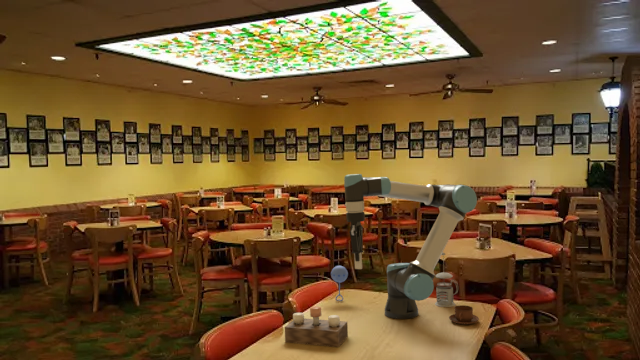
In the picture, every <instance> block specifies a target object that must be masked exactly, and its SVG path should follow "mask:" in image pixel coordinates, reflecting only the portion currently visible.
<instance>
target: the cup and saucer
mask: <svg viewBox="0 0 640 360" xmlns="http://www.w3.org/2000/svg"><path fill="white" fill-rule="evenodd" d="M473 309H474V308H473V307H472V306H470V305H465V304H463V305H460V304H459V305H455V306H454V314H451V315H449V320H450V321H451V322H453V323H454V324H459V325H472V324H476V323H478V322H479V316H477V315H475V314H474V312H473V311H474V310H473Z"/></svg>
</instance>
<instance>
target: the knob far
mask: <svg viewBox="0 0 640 360" xmlns="http://www.w3.org/2000/svg"><path fill="white" fill-rule="evenodd" d="M304 318H305V313H303V312H294V313H293V314H292V321H293V322H294V323H296V324H302V323H303V322H304Z"/></svg>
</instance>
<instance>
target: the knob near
mask: <svg viewBox="0 0 640 360" xmlns="http://www.w3.org/2000/svg"><path fill="white" fill-rule="evenodd" d="M327 320H328V324H329V326H331V327H337V326H338V325H340V321H341V320H340V315H337V314H331V315H329V316H328V319H327Z"/></svg>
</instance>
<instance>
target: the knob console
mask: <svg viewBox="0 0 640 360" xmlns="http://www.w3.org/2000/svg"><path fill="white" fill-rule="evenodd" d="M348 329H349V328H348V321H342V320H340V325H338V326H337V327H331V326H329V324H328V319H319V326H313V318H305V317H304V322H303V323H302V324H296V323H294V322H293V320H292V321H290V322H289V323H288V324H287V325H285V326H284V341H285V343H289V344H300V345H301V344H303V345H310V346H311V345H313V346H320V347H323V346H324V347H330V348H331V347H333V348H340V346H341V345H342V344H343V343H344V342H345V341H346V340H347V338H348V337H349V331H348Z"/></svg>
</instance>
